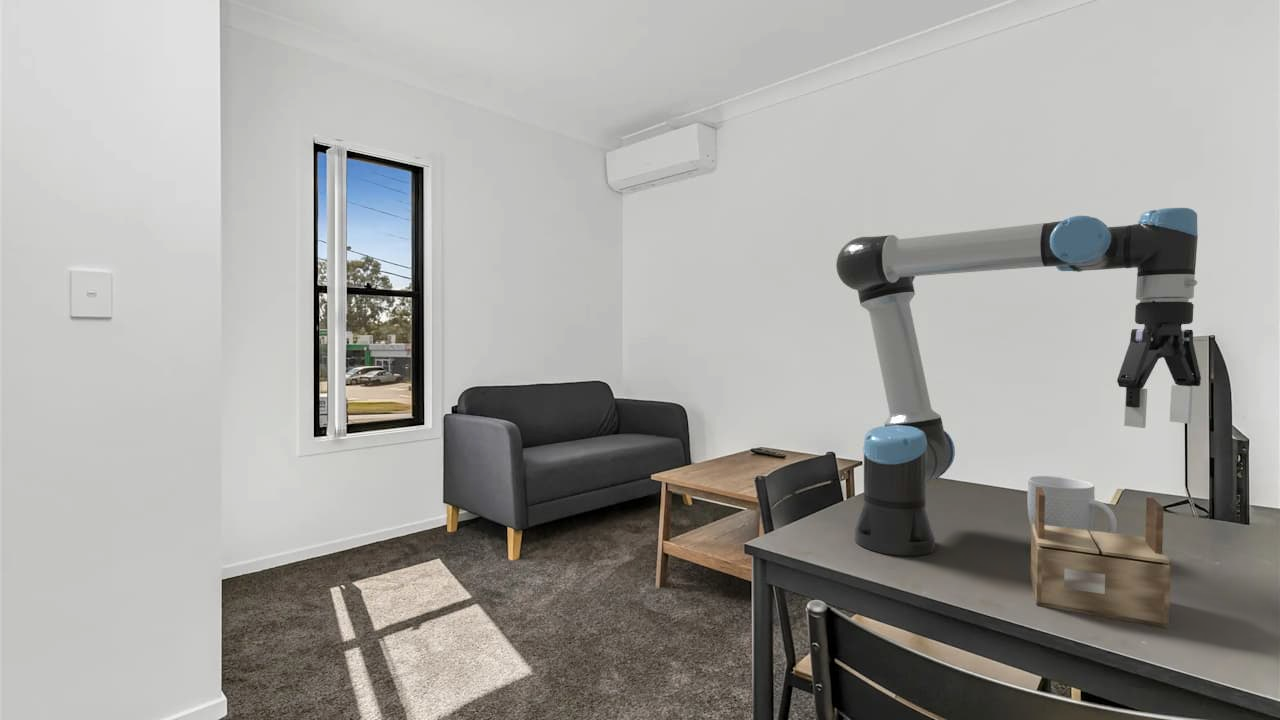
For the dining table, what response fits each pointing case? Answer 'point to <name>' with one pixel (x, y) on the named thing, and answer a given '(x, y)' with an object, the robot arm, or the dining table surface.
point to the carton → (1101, 584)
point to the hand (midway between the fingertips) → (1157, 424)
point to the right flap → (1137, 538)
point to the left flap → (1059, 532)
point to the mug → (1067, 503)
